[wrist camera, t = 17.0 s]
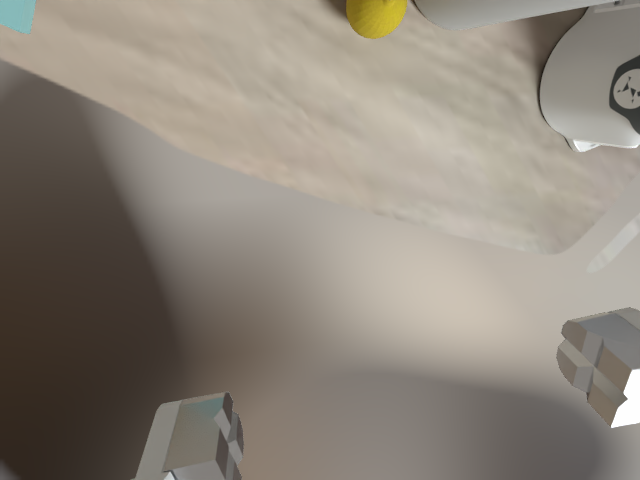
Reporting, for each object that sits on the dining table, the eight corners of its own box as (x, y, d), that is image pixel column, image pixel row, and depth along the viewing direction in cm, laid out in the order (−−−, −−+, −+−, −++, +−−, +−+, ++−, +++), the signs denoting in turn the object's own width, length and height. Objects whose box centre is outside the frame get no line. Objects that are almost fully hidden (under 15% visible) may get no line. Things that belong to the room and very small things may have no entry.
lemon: (344, -27, 37) (368, -50, 30) (394, -12, 38) (428, -31, 31) (333, 34, 39) (353, 26, 32) (380, 46, 40) (410, 41, 33)
